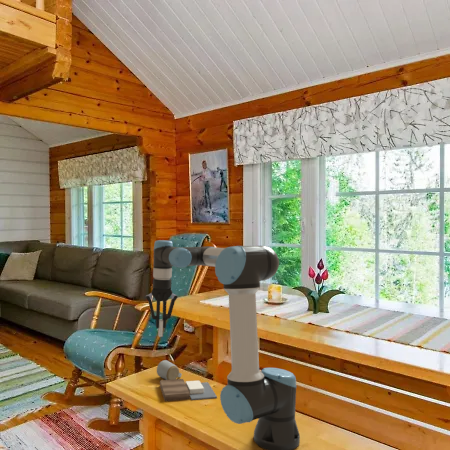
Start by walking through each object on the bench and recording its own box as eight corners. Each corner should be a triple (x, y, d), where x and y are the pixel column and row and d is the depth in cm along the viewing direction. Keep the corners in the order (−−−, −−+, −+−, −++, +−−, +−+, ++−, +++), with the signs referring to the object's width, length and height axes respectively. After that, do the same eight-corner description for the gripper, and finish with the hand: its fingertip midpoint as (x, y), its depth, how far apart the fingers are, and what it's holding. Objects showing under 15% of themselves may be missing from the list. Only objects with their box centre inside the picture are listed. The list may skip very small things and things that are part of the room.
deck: (189, 399, 178) (189, 393, 178) (164, 401, 176) (165, 395, 176) (182, 384, 194) (182, 378, 194) (159, 386, 191) (159, 380, 191)
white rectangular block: (204, 393, 183) (204, 388, 183) (189, 394, 182) (189, 389, 182) (199, 384, 192) (199, 380, 192) (185, 386, 190) (185, 381, 190)
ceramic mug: (166, 383, 194) (167, 366, 194) (155, 378, 200) (156, 361, 200) (185, 378, 201) (186, 361, 201) (174, 373, 207) (175, 357, 207)
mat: (216, 398, 180) (216, 396, 180) (191, 400, 177) (191, 398, 177) (207, 383, 196) (207, 382, 196) (184, 385, 193) (184, 383, 193)
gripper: (177, 277, 186) (175, 332, 186) (145, 276, 183) (143, 333, 183) (179, 279, 179) (177, 337, 179) (146, 279, 176) (144, 338, 176)
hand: (160, 335), depth 181 cm, fingers closed
